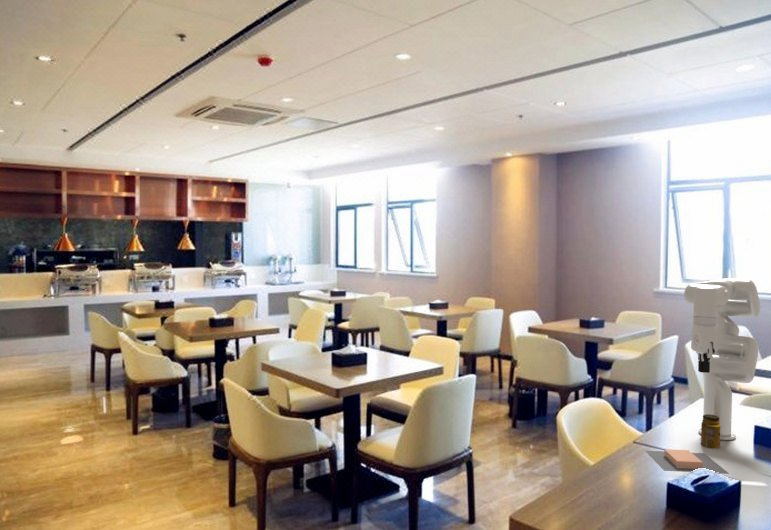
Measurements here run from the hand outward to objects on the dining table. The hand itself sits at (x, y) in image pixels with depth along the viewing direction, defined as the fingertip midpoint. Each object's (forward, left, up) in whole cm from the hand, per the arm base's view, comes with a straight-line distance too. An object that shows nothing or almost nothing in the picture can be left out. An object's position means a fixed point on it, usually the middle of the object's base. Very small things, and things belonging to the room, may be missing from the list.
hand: (703, 371), depth 201 cm
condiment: (-4, +4, -29) cm, 30 cm away
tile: (+8, -12, -27) cm, 31 cm away
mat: (+13, -11, -29) cm, 34 cm away
